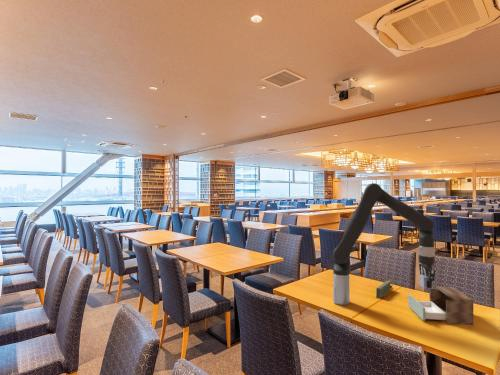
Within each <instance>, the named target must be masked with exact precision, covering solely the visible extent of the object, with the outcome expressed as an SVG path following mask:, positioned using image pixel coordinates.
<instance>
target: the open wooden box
mask: <svg viewBox="0 0 500 375" xmlns="http://www.w3.org/2000/svg"><path fill="white" fill-rule="evenodd" d="M429 301H431V302H433V303H434V304H435V305H436V306H438V307H439V308H440V309H441V310H443V311H444V312H445V313H446V320H442V321H443V322H445V324H447V325H460V326H461V325H463V326H474V324H475V323H474V318H475V317H474V300H473V299H472V298H471V297H469V296H468V295H466V294H465V293H463V292H462V291H459V290H458V289H457V288H454V287H453V286H436V288H435V287H434V289H429Z"/></svg>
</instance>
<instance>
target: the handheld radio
mask: <svg viewBox="0 0 500 375" xmlns="http://www.w3.org/2000/svg"><path fill="white" fill-rule="evenodd" d="M391 289H393V285H391V280H388V279H387V280H386V281H385V282H383V283H382V284H381V285H378V287H376V290H375V298H376V299H381V297H382V298H383V297H384V296H386V295H387V294H388V293H389V292H391Z"/></svg>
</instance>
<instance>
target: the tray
mask: <svg viewBox="0 0 500 375" xmlns="http://www.w3.org/2000/svg"><path fill="white" fill-rule="evenodd" d="M407 297H408V298H407V301H408V304H407V305H408V306H409V308H410V309H411V310H412V311H413V312H414V313H415V314H416V315H417V316H418V317H419V318H420V319H421V320H422V321H426V320H442V321H443V320H446V313H445V312H444V311H443V310H441V309H440V308H439V307H438V306H436V305H435V304H434V303H433V302H431V301H430V300H427V301H426V300H417V299H416V298H415V297H414V296H413V295H411V294H410V293H408V296H407Z"/></svg>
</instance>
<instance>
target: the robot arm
mask: <svg viewBox="0 0 500 375" xmlns="http://www.w3.org/2000/svg"><path fill="white" fill-rule="evenodd" d="M377 202H378V203H381V204H383V205H384V206H386V207H388V208H389V209H390V210H392V211H393V212H394V213H396V214H397V215H399V216H400V217H402V218H403V219H405V220H407V221H408V222H411V223H412V224H413V225H414V226H416V227H418V234H419V236H418V251H417V252H418V263H419V264H418V270H419V275H420V274H421V275H425V276H426V279H427V288H432V281H434V282H435V277H436V270H434V269H433V265H435V264H436V252H435V250H436V249H435V237H434V228H435V222H434V220H432V218H430V217H429V216H426V215H424V214H422V213H421V212H419V211H418V210H417V209H415V208H413V207H412V206H410V205H408V204H406V203H405V202H403V201H401V200H399V199H398V198H395V197H393V195H390V194H389V193H388V192H386V190H384V189H383V188H382V187H381V186H380V185H379V184H378V183H373V182H372V183H369V184H368V185H366V186H365V188H364V191H363V194H362V196H361V200H360V202H359V204H358V205H357V207H356V208H355V209H354V211H353V213H352V215H351V216H350V218H349V220H348V222H347V224H346V226H345V229H344V233H343V235H342V239H341V240H340V242H339V244H338V245H337V246H336V247H335V248H334V249H333V251H332V258H333V268H332V270H333V272H332V273H333V275H332V276H333V284H332V300H333V304H335V305H339V306H340V305H341V306H346V305H347V306H348V305H350V303H351V300H350V293H351V292H350V255H351V252H352V250H353V248H354V246H355V244H356V243H357V241H358V239H359V238H360V236H361V235H362V233H363V231H364V229H365V228H366V225H367V224H368V222H369V219H370V215H371V212H372V210H373V208H374V206H375V205H376V203H377Z"/></svg>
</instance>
